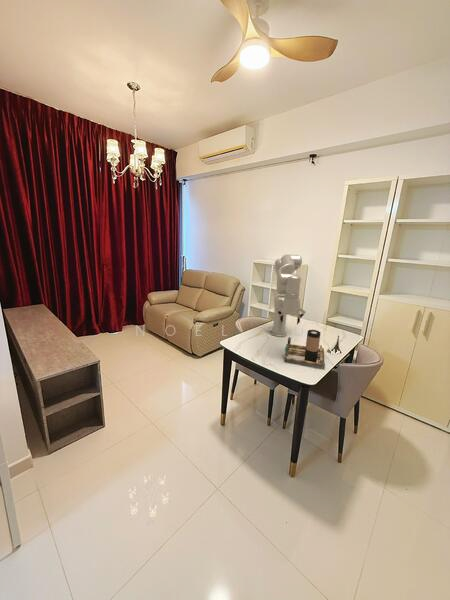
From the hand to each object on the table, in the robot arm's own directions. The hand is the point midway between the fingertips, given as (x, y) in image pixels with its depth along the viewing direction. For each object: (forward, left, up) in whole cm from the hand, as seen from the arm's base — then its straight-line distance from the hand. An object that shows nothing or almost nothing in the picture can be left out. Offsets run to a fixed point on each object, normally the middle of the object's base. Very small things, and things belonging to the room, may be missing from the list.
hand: (289, 322), depth 153 cm
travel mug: (+15, 0, -24) cm, 28 cm away
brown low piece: (+10, 0, -24) cm, 26 cm away
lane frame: (+10, +6, -24) cm, 26 cm away
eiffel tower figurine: (+31, +23, -25) cm, 46 cm away
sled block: (+10, +13, -24) cm, 29 cm away
